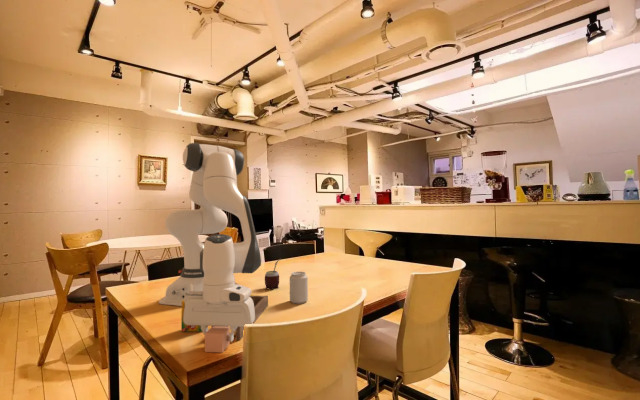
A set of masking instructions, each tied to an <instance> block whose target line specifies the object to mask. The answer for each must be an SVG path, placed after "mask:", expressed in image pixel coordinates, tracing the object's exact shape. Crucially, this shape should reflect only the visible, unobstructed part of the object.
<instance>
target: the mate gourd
mask: <svg viewBox="0 0 640 400" xmlns="http://www.w3.org/2000/svg"><path fill="white" fill-rule="evenodd" d="M280 260H281V258H279V259H278V260H276V262H275V263H274V268H273V270H269V271H266V272H265V274H264V285H265V289H266V290H269V289H270V291H273V290H274V289H276V290H277V289H279V285H280V273H279V272H278V271H277V270H276V267H277V264H278V262H280Z"/></svg>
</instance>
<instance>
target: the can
mask: <svg viewBox="0 0 640 400" xmlns="http://www.w3.org/2000/svg"><path fill="white" fill-rule="evenodd" d="M308 283H309V281H308V275H307V272H305V271H293V272H291V273H290V276H289V301H290V303H293V304H294V305H295V304H297V305H301V304H305V303H307V301H308V300H309V298H308V297H309V294H308V293H309V290H308V287H309V286H308V285H309V284H308Z"/></svg>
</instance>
